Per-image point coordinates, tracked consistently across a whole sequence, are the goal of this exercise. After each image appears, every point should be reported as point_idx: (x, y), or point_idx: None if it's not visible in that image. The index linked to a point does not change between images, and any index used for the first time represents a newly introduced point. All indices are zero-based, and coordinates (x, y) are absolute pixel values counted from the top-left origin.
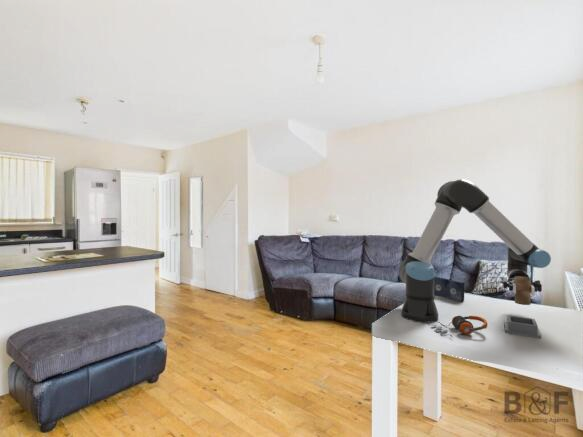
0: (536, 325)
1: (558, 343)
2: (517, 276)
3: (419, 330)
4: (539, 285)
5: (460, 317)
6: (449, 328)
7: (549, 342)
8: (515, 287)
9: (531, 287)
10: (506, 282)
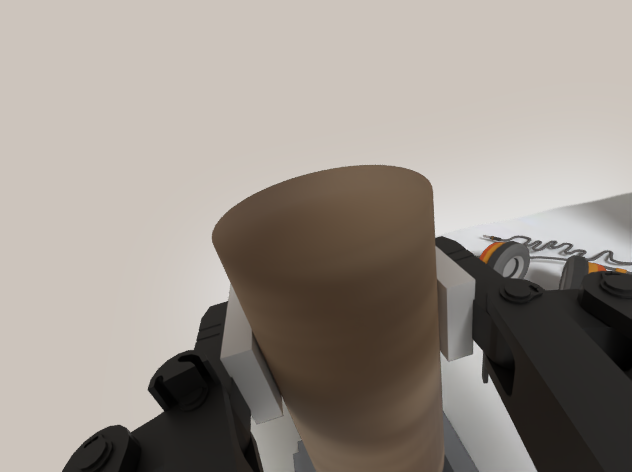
0: (303, 452)
1: None
2: (408, 200)
3: (591, 225)
4: (117, 428)
5: (568, 264)
6: (548, 257)
7: (268, 429)
8: None
9: None
10: (582, 287)
